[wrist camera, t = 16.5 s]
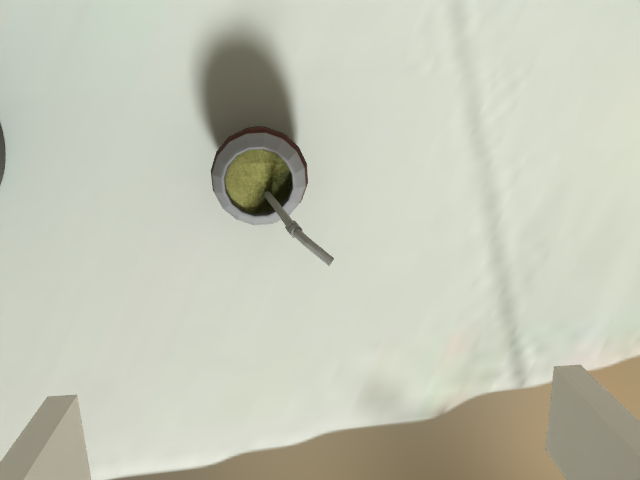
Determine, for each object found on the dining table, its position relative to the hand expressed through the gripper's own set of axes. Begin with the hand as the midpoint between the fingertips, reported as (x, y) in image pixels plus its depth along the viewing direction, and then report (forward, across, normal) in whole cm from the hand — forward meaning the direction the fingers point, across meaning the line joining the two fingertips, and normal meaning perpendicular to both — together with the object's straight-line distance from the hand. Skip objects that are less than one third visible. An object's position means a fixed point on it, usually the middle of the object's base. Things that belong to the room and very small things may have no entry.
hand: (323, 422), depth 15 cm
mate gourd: (+33, -2, +2) cm, 33 cm away
